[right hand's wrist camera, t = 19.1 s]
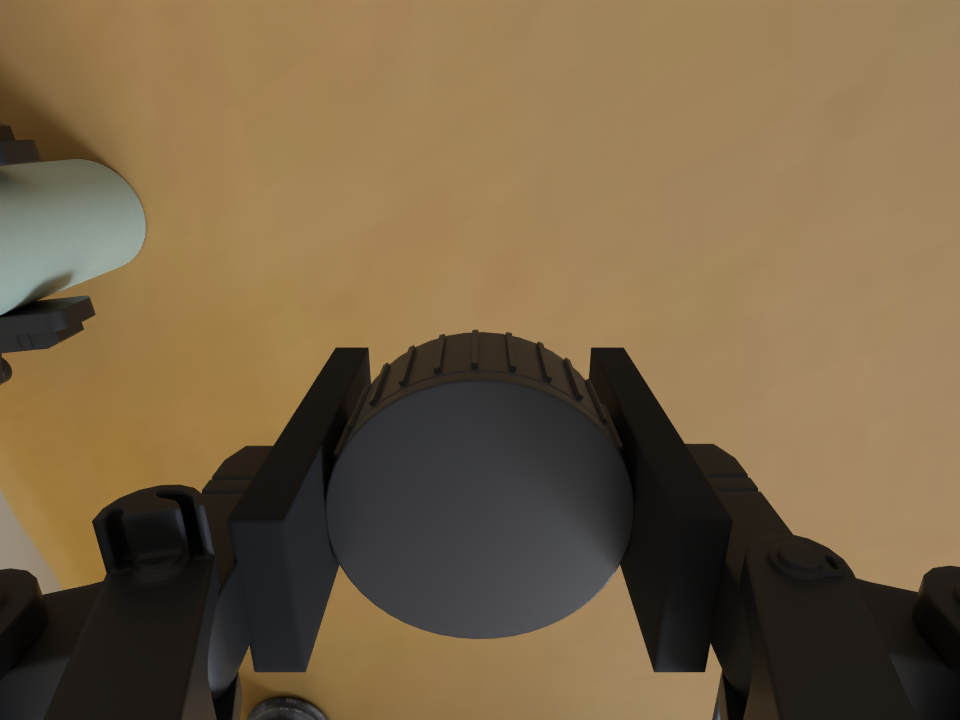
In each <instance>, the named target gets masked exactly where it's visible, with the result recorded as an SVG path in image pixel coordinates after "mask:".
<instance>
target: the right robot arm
mask: <svg viewBox="0 0 960 720" xmlns="http://www.w3.org/2000/svg"><path fill="white" fill-rule="evenodd" d="M589 380H590V381H591V382H592V384H593V387H594V389H595V391H596V394H597V396H598V398H599V401H600V403H601V405H602V404H605V406H606V408H607V410H608V413H609V415H610V417H611V419H612V422H613V424H614V426H615V428H616V431H617V433H618V435H619V438H620V440H621V442H622V444H623V447H624V449H625V450H624V451H622V452H620V453H621V455H622V457H623V460H624V462H625V464H626V467H627V469H628V471H629V474H630V478H631V482H632V486H633V491H634V502H635V510H634V519H633V528H632V534H631V539H630V542H629V545H628V548H627V550H626V553H625V555H624V558H623V559H622V561H621V563H620V566H621V569H622V572H623V575H624V578H625V581H626V585H627V588H628V591H629V594H630V597H631V600H632V604H633V607H634V610H635V613H636V616H637V619H638V623H639V626H640V629H641V632H642V635H643V638H644V642H645V645H646V648H647V651H648V654H649V657H650V660H651V664H652V667H653V670H654V672H705V669H706V664H707V658H708V653H709V647H710V643H711V645H712V647H713V649H714V652H715V654H716V656H717V658H718V661H719V663H720V665H721V667H722V673H721V678H720V683H719V688H718V693H717V698H716V703H715V708H714V713H713V718H712V720H960V567H956V566H944V567H937V568H933V569H931V570H930V571H929V572H927V573H926V574H925V575H924V576H923V579H922V582H921V585H920V588H919V591H918V592H914V591H909V590H905V589H900V588H895V587H891V586H886V585H881V584H876V583H872V582H868V581H864V580H860V579H857V578H855V575H854V573H853V572H852V570H851V569H850V568H849V566H848V565H847V563H846V562H845V561H844V559H842V558H841V557H840V556H838V555H837V554H836V553H834V552H833V551H832V550H830V549H829V548H827V547H825V546H823V545H821V544H819V543H817V542H815V541H812V540H810V539H808V538H804V537H800V536H796V535H793V534H792V532H791V531H790V530H789V529H788V527H787V526H786V525H785V523H784V522H783V521H782V519H781V518H780V517H779V515H778V514H777V513H776V511H775V510H774V509H773V507H772V506H771V505H770V503H769V502H768V501H767V499H766V498H765V497H764V496H763V494H762V493H761V492H758V488H757V486H756V485H755V484H754V482H753V481H752V480H751V478H748V474H747V473H746V472H745V470H744V469H743V468H742V466H741V465H740V464H739V463H738V461H737V460H736V459H735V458H734V457H733V456H731V455H730V454H728V453H727V452H725V451H724V450H722V449H720V448H719V447H717V446H716V445H714V444H684V442H683V440H682V439H681V437H680V436H679V434H678V432H677V431H676V429H675V428H674V426H673V425H672V423H671V421H670V420H669V418H668V417H667V415H666V414H665V412H664V410H663V409H662V407H661V406H660V404H659V403H658V401H657V399H656V398H655V396H654V395H653V393H652V392H651V390H650V388H649V387H648V385H647V384H646V382H645V380H644V379H643V377H642V376H641V374H640V373H639V371H638V369H637V368H636V366H635V365H634V363H633V362H632V360H631V358H630V357H629V355H628V354H627V352H626V351H625V349H624V348H591V358H590V372H589ZM366 385H368V386H369V387H370V386H371V377H370V364H369V350H368V348H335V350H334V351H333V353H332V355H331V356H330V358H329V359H328V361H327V363H326V364H325V366H324V367H323V369H322V370H321V372H320V374H319V375H318V377H317V378H316V380H315V381H314V383H313V385H312V386H311V388H310V389H309V391H308V392H307V394H306V396H305V397H304V399H303V400H302V402H301V403H300V405H299V407H298V408H297V410H296V411H295V413H294V414H293V416H292V418H291V419H290V421H289V422H288V424H287V426H286V427H285V429H284V430H283V432H282V433H281V435H280V437H279V438H278V440H277V441H276V443H275V444H274V446H245V447H244V448H242V449H241V450H239V451H238V452H236V453H235V454H233V455H232V456H230V457H229V458H227V459H226V460H224V462H223V463H222V464H221V466H220V467H219V468H218V470H217V471H216V472H215V474H214V475H213V476H212V480H209V482H208V483H207V484H206V486H205V487H204V488H203V490H202V494H201V493H200V492H199V491H197V490H196V489H195V488H192V487H188V486H183V485H160V486H155V487H151V488H146V489H142V490H138V491H136V492H133V493H131V494H128V495H126V496H123V497H121V498H119V499H117V500H116V501H114V502H113V503H111V504H110V505H108V506H106V507H105V508H103V509H102V510H101V511H100V513H99V514H98V515H97V516H96V517H95V518H94V520H93V521H92V523H93V526H94V530H95V533H96V537H97V541H98V544H99V548H100V551H101V555H102V558H103V562H104V565H105V569H106V572H107V574H106V577H105V579H104V581H102V582H98V583H94V584H91V585H86V586H82V587H77V588H72V589H68V590H63V591H58V592H54V593H49V594H44V595H42V593H41V590H40V587H39V584H38V581H37V578H36V577H34V576H33V575H32V574H31V573H29V572H28V571H25V570H17V569H3V570H0V720H240V713H241V704H242V690H241V683H240V678H239V673H238V670H239V667H240V665H241V663H242V661H243V658H244V656H245V654H246V652H247V649H248V647H249V645H250V649H251V655H252V660H253V666H254V671H255V672H306V669H307V666H308V662H309V659H310V656H311V653H312V650H313V647H314V643H315V640H316V637H317V634H318V631H319V628H320V624H321V621H322V618H323V615H324V612H325V609H326V606H327V602H328V599H329V596H330V593H331V590H332V587H333V583H334V580H335V577H336V574H337V571H338V568H339V562H338V560H337V558H336V556H335V554H334V552H333V549H332V546H331V543H330V540H329V537H328V531H327V523H326V513H325V496H326V490H327V483H328V480H329V477H330V474H331V471H332V468H333V465H334V463H335V460H336V459H333V458H332V456H333V453H334V451H335V449H336V446H337V444H338V442H339V439H340V437H341V435H342V433H343V430H344V428H345V426H346V424H347V421H348V419H349V417H350V415H351V412H352V410H353V411H354V409H355V407H356V405H357V402H358V400H359V398H360V396H361V393H362V391H363V389H364V387H365V386H366Z"/></svg>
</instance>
